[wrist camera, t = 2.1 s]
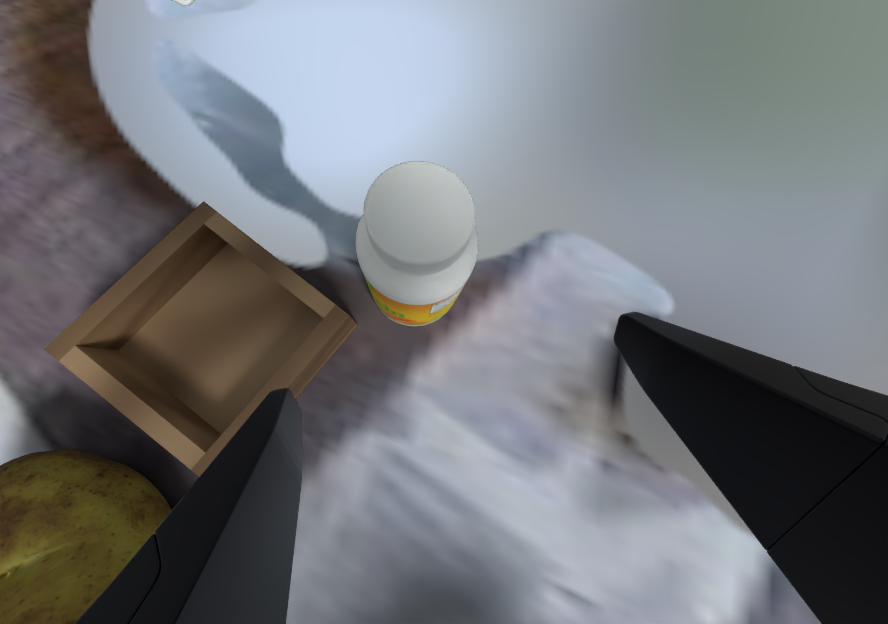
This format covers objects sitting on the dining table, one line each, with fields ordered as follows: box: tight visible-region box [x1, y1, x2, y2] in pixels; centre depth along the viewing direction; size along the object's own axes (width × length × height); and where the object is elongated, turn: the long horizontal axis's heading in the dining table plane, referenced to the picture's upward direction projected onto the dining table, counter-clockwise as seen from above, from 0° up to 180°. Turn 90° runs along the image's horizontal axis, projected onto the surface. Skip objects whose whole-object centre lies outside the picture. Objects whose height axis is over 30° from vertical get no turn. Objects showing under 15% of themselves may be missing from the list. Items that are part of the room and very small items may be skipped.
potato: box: [0, 449, 172, 624], centre depth 13 cm, size 8×13×8 cm, turn 16°
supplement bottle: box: [356, 161, 478, 326], centre depth 17 cm, size 5×5×10 cm
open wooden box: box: [45, 202, 358, 477], centre depth 18 cm, size 10×10×3 cm
